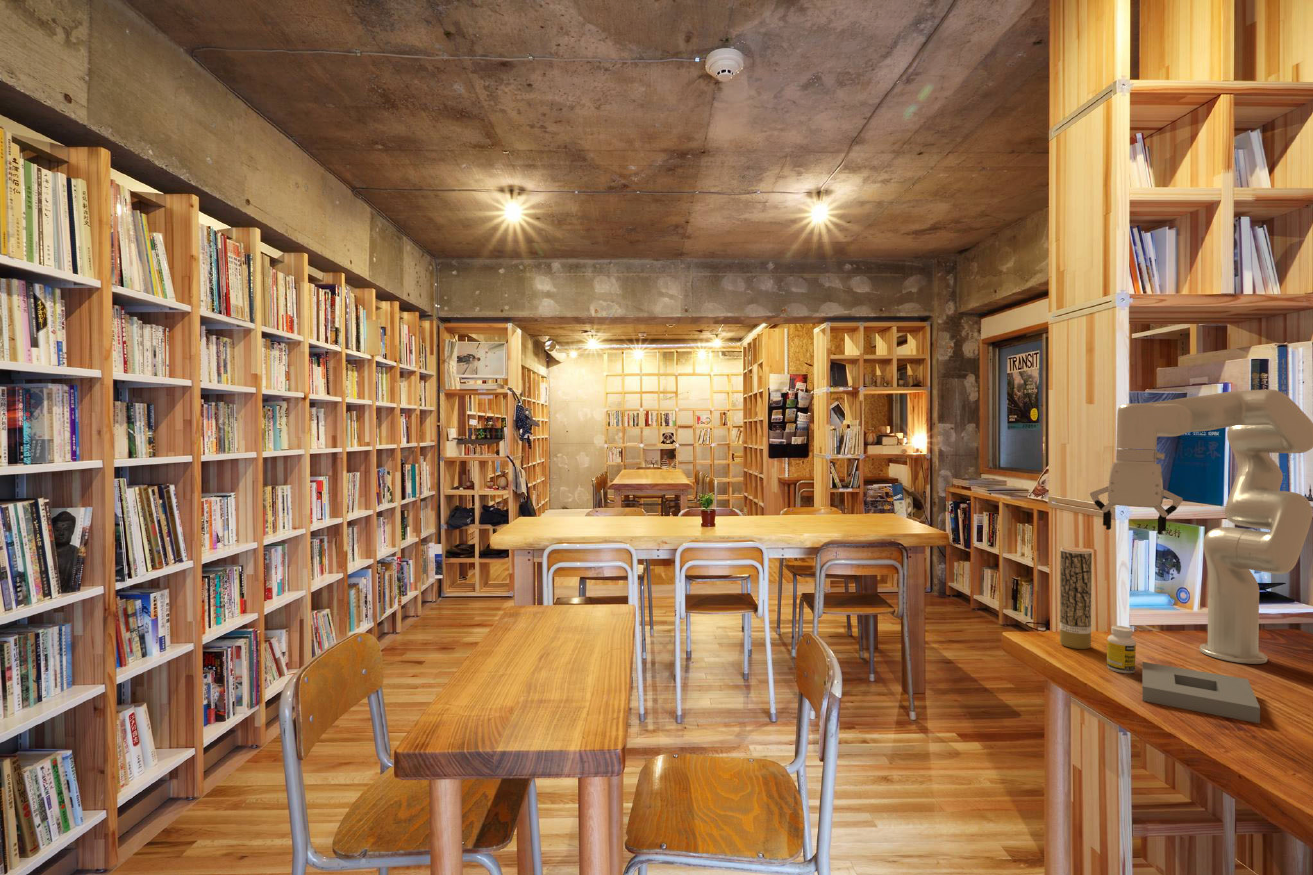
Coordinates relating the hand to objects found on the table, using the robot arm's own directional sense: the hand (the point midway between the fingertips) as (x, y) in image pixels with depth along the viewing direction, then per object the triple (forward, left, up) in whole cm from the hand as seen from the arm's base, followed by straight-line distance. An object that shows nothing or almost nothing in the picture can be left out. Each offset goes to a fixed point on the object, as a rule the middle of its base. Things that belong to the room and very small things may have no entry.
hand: (1133, 531), depth 153 cm
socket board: (+10, +11, -32) cm, 36 cm away
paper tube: (-14, -12, -33) cm, 37 cm away
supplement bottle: (0, -2, -33) cm, 33 cm away
